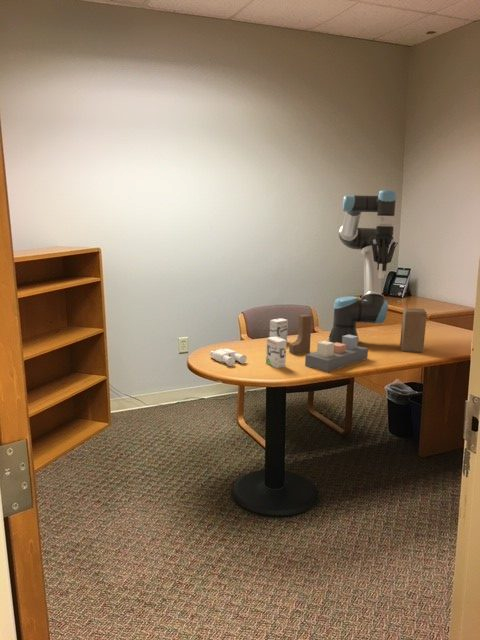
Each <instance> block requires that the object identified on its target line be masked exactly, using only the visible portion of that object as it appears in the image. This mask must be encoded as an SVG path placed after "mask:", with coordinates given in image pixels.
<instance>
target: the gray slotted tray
mask: <svg viewBox="0 0 480 640" xmlns="http://www.w3.org/2000/svg"><path fill="white" fill-rule="evenodd" d="M368 352H369V348H368V347H363V346H360V345H357V349H354V350H347V349H346V352H344V353H340V354H337V353H333V356H330V357H327V358H326V357H322V356H318V355H317V350H316V351H313V352H310V353H305V358H304V359H305V360H304V361H305V362H304V367H309V368H312V369H314V370H315V369H316V370H318V369H319V371H321V372H325V371H326V373H328V372H332V371H335V370H337V369H341V368H344V367H348V366H349V365H353V364H356V363H360V362H362V361H366V360H368V356H369V353H368Z"/></svg>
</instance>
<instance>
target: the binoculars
mask: <svg viewBox="0 0 480 640" xmlns="http://www.w3.org/2000/svg"><path fill="white" fill-rule="evenodd" d="M209 356H211V357H212V358H213V359H214V361H218V362H220V363H221V364H224V363H225V364H226V365H227V366H229V367H232V366H234V365H235V364H236V362H239V363H240V364H245V363H246V362H247V355H246V354H240V353H239V352H238V351H235V350H232V349H229V348H218V349H216V350H215V351H214V350H211V351H210V352H209Z"/></svg>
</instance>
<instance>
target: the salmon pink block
mask: <svg viewBox="0 0 480 640" xmlns="http://www.w3.org/2000/svg"><path fill="white" fill-rule="evenodd" d="M344 352H346V344H341V343H337V342H336V343H334V353H337V354H340V353H344Z"/></svg>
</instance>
